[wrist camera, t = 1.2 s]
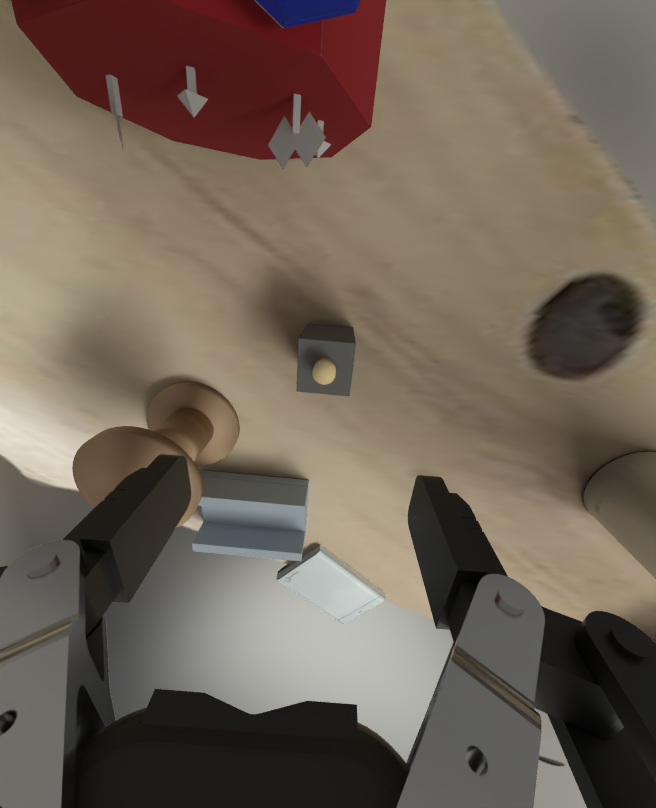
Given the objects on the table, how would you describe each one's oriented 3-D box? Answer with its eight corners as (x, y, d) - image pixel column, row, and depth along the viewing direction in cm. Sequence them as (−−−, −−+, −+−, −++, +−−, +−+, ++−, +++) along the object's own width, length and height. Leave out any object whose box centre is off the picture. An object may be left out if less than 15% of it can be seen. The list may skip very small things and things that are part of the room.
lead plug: (353, 327, 27) (356, 347, 20) (348, 371, 28) (349, 402, 22) (307, 323, 27) (296, 342, 20) (305, 367, 28) (294, 397, 22)
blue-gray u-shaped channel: (308, 480, 34) (304, 506, 30) (305, 532, 37) (301, 561, 33) (201, 470, 34) (184, 494, 30) (207, 523, 37) (193, 551, 33)
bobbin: (237, 386, 29) (189, 439, 20) (241, 462, 33) (202, 537, 24) (145, 377, 29) (56, 427, 20) (159, 455, 33) (90, 526, 24)
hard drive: (275, 581, 39) (341, 626, 43) (319, 551, 37) (386, 601, 40) (278, 569, 41) (341, 614, 44) (320, 540, 38) (384, 589, 41)
